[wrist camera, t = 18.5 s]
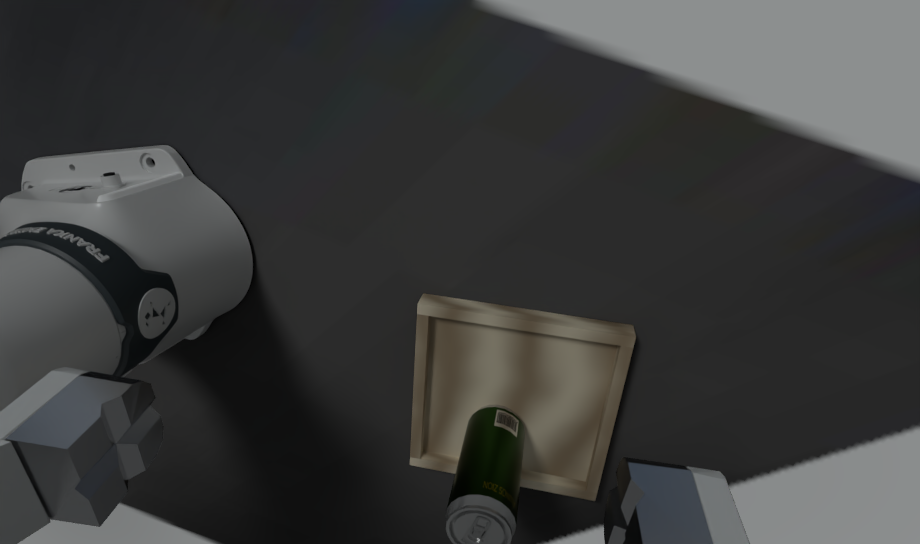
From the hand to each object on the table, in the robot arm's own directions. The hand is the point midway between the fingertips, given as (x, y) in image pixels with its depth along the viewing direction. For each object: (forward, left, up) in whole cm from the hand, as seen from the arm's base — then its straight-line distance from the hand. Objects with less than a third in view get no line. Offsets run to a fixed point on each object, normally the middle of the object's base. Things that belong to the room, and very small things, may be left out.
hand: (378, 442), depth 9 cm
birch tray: (+2, -24, -34) cm, 41 cm away
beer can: (+1, -27, -33) cm, 43 cm away
